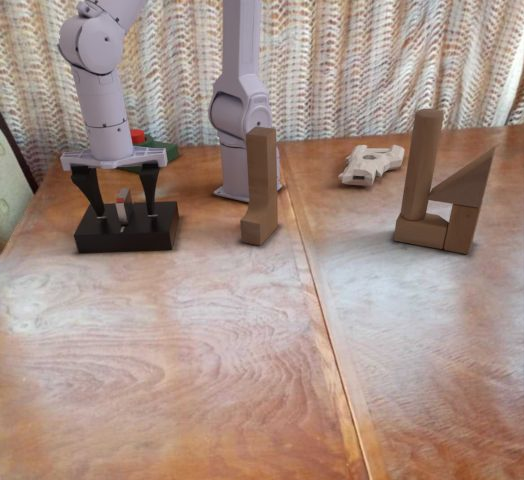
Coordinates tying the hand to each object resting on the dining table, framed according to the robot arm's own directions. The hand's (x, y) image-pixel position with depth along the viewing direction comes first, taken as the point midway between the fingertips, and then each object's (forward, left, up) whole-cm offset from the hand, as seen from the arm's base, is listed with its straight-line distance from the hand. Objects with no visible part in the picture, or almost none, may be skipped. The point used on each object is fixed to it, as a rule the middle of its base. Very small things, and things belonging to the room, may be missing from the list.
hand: (126, 213), depth 81 cm
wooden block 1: (-18, -9, -4) cm, 21 cm away
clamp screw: (0, 0, -1) cm, 1 cm away
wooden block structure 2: (-42, -18, -4) cm, 46 cm away
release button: (+18, -24, 0) cm, 30 cm away
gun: (-25, -38, -4) cm, 46 cm away
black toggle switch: (0, 0, -4) cm, 4 cm away
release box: (+18, -24, -4) cm, 30 cm away
